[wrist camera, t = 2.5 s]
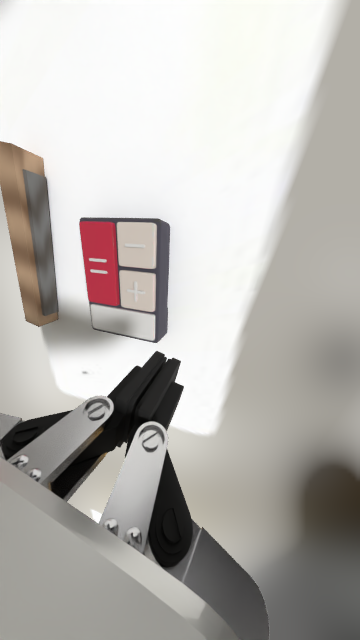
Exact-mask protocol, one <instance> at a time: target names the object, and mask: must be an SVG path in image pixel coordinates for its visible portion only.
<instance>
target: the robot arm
mask: <svg viewBox="0 0 360 640" xmlns="http://www.w3.org/2000/svg"><path fill="white" fill-rule="evenodd" d="M164 356H165V354H163V353H160V352H158V351H156V352H155V353H154V354H153V355H152V356H151V358H150V359H149V360H148V361H147V362H146V363H145V365H144V366H143V367H142V368H141V367H139V366H135V367H134V368H133V369H132V370H131V372H130V373H129V374H128V375H127V376H126V377H125V378H124V379H123V380H122V381H121V382H120V383H119V384H118V385H117V387H116V388H115V389H114V390H113V391H112V392H111V393H110V394H109V395H108V396H107V397H106V396H95V397H92V398H90V399H88V400H86V401H85V402H84V403H82V404H81V405H80V406H78V407H77V408H76V409H74V410H71V411H67V412H62V413H58V414H53V415H49V416H44V417H40V418H35V419H31V420H27V421H22V418H19V417H14V416H10V415H6V414H2V413H0V640H269V617H268V612H267V608H266V604H265V600H264V598H263V596H262V593H261V591H260V589H259V587H258V585H257V584H256V583H255V581H254V580H253V579H252V577H251V576H250V575H249V574H248V573H247V572H246V571H245V570H244V569H243V568H242V567H241V566H240V565H239V564H238V563H237V562H236V561H235V560H234V559H233V558H232V557H231V556H230V555H229V554H228V553H227V551H226V550H225V549H223V548H222V546H221V545H220V544H219V543H218V542H217V541H216V540H215V539H214V538H213V537H212V536H211V535H210V534H209V533H208V532H207V531H206V530H205V529H204V528H203V527H202V528H200V527H199V526H198V525H197V524H196V523H195V522H194V521H193V520H192V519H191V516H190V512H189V510H188V507H187V504H186V501H185V498H184V495H183V493H182V490H181V487H180V484H179V482H178V479H177V476H176V473H175V470H174V467H173V464H172V462H171V459H170V456H169V453H168V450H167V445H168V435H167V429H168V427H169V424H170V422H171V419H172V417H173V415H174V412H175V410H176V407H177V405H178V402H179V400H180V397H181V394H182V391H183V388H184V386H182V385H179V384H177V383H175V379H176V376H177V373H178V369H179V366H180V363H181V361H179V360H177V359H175V358H172V359H168V360H167V362H166V359H167V358H166V357H164ZM123 442H125V443H127V442H128V443H127V449H126V454H125V461H124V463H123V465H122V468H121V471H120V473H119V475H118V478H117V480H116V483H115V485H114V488H113V490H112V493H111V495H110V497H109V500H108V502H107V505H106V507H105V509H104V512H103V514H102V517H101V519H100V522H99V524H98V523H96V522H95V521H94V520H92V519H91V518H89V517H88V516H86V515H85V514H83V513H82V512H80V511H79V510H77V509H76V508H74V507H73V506H71V505H70V504H69V503H67V501H68V500H69V499H70V497H71V496H72V495H73V494H74V493H75V492H76V490H77V489H78V488H79V487H80V486H81V484H82V483H83V482H84V481H85V480H86V479H87V477H88V476H89V475H90V474H91V473H92V472H93V470H94V469H95V468H96V467H97V466H98V464H99V463H100V462H101V461H102V460H103V458H104V457H105V456H106V454H107V453H108V452H110V451H113V450H114V449H115V447H116V446H118V447H121V445H122V444H123Z"/></svg>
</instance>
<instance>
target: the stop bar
mask: <svg viewBox="0 0 360 640" xmlns="http://www.w3.org/2000/svg"><path fill="white" fill-rule="evenodd" d="M0 186H1V191H2V196H3V201H4V207H5V212H6V217H7V223H8V228H9V233H10V239H11V244H12V249H13V254H14V260H15V265H16V271H17V276H18V281H19V286H20V292H21V297H22V303H23V308H24V313H25V319H26V321H27V322H29V323H32V324H34V325H36V326H38V327H40V326H43V325H45V324H48V323H50V322H53V321H55V320H58V314H57V312H58V304H57V293H56V282H55V271H54V260H53V249H52V238H51V227H50V216H49V205H48V194H47V183H46V177H45V175H44V164H43V158H41V157H39V156H37V155H35V154H33V153H31V152H28V151H26V150H24V149H22V148H20V147H18V146H15V145H13V144H11V143H6V142H1V141H0Z"/></svg>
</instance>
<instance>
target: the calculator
mask: <svg viewBox="0 0 360 640" xmlns="http://www.w3.org/2000/svg"><path fill="white" fill-rule="evenodd" d="M79 225H80V234H81V242H82V250H83V258H84V267H85V275H86V283H87V291H88V299H89V303H90V311H91V319H92V327H93V329H95V330H99V331H103V332H108V333H112V334H117V335H121V336H126V337H130V338H135V339H139V340H144V341H149V342H153V343H157V342H159V341H160V340H161V338H162V337H163V336H164V335H165V334H166V333H167V321H168V308H167V297H168V274H169V243H170V226H169V224H168V223H166V222H164V221H162V220H160V219H150V218H81V219H80V223H79Z"/></svg>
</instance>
